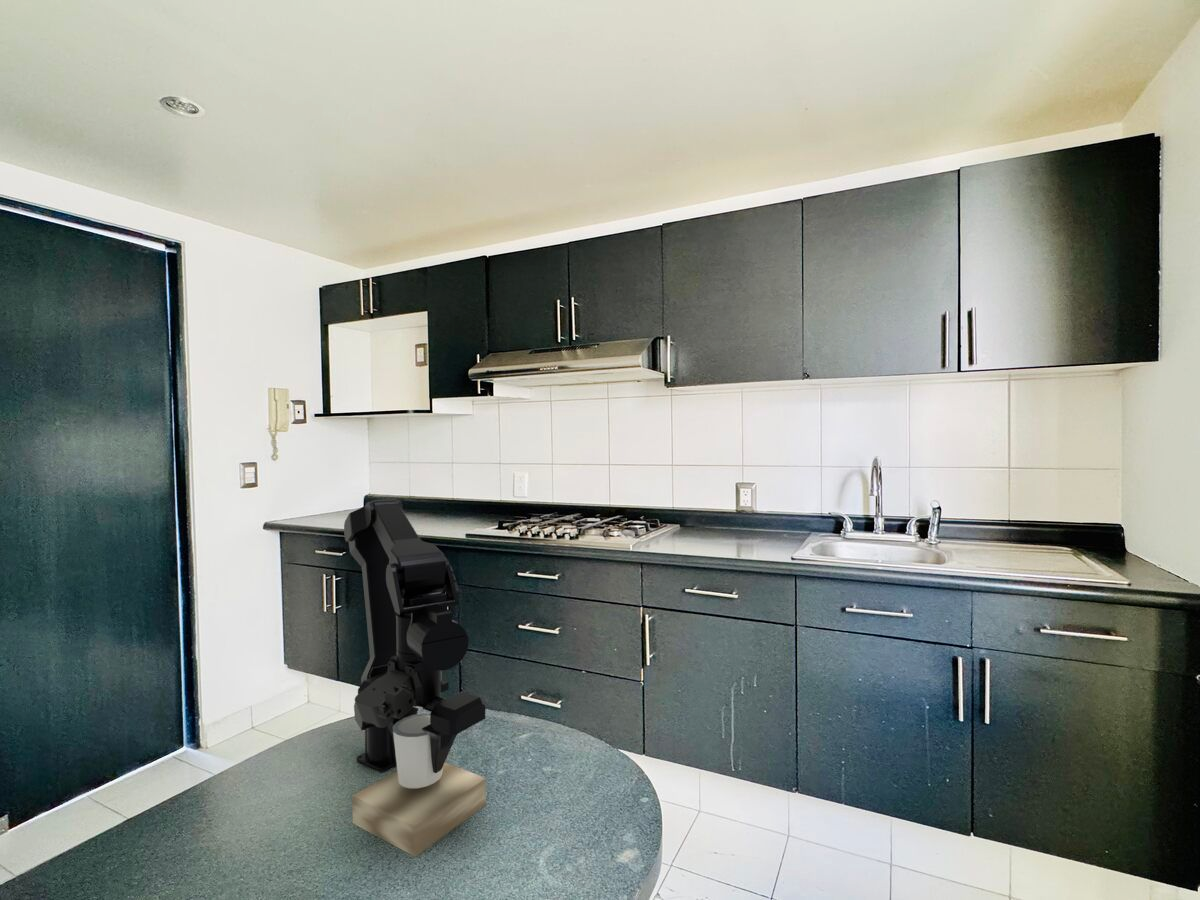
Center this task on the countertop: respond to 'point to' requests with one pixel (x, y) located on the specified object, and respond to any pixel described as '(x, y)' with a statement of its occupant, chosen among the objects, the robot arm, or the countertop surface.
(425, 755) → the shot glass
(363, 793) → the birch block
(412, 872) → the countertop surface
